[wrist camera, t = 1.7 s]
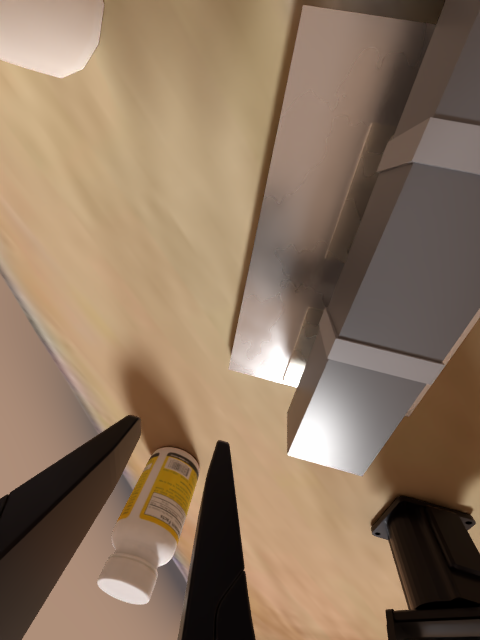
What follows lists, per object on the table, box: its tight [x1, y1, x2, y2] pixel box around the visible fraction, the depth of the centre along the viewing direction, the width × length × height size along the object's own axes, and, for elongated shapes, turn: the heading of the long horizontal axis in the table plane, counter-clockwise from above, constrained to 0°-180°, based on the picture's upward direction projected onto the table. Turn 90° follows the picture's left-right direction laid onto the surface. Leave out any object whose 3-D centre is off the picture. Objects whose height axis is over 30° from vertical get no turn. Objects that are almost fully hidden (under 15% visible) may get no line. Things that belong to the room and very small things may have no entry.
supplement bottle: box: [97, 447, 199, 604], centre depth 22 cm, size 5×5×10 cm
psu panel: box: [229, 5, 480, 417], centre depth 14 cm, size 18×13×2 cm
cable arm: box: [287, 0, 480, 476], centre depth 11 cm, size 22×4×7 cm, turn 170°
